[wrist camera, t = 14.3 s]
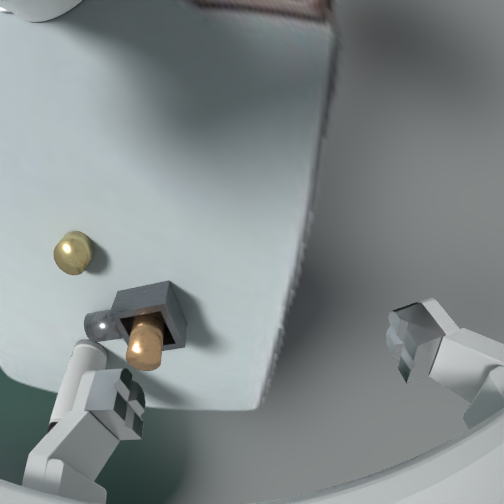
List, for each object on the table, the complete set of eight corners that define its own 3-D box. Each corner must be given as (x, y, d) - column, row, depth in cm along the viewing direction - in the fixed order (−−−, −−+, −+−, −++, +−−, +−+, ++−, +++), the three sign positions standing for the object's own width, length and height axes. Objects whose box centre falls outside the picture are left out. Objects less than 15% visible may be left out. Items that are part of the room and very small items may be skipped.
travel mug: (67, 342, 45) (34, 439, 28) (96, 336, 45) (66, 442, 28) (86, 365, 48) (61, 459, 31) (114, 361, 48) (94, 462, 31)
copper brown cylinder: (133, 298, 42) (119, 350, 34) (161, 293, 42) (152, 345, 34) (144, 321, 44) (134, 372, 36) (171, 316, 44) (165, 368, 36)
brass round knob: (56, 235, 36) (47, 246, 33) (85, 226, 36) (77, 237, 34) (71, 266, 39) (63, 278, 36) (99, 259, 39) (93, 271, 36)
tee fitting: (84, 298, 41) (74, 320, 37) (169, 280, 41) (165, 303, 37) (106, 336, 45) (99, 359, 41) (186, 323, 45) (185, 347, 41)
